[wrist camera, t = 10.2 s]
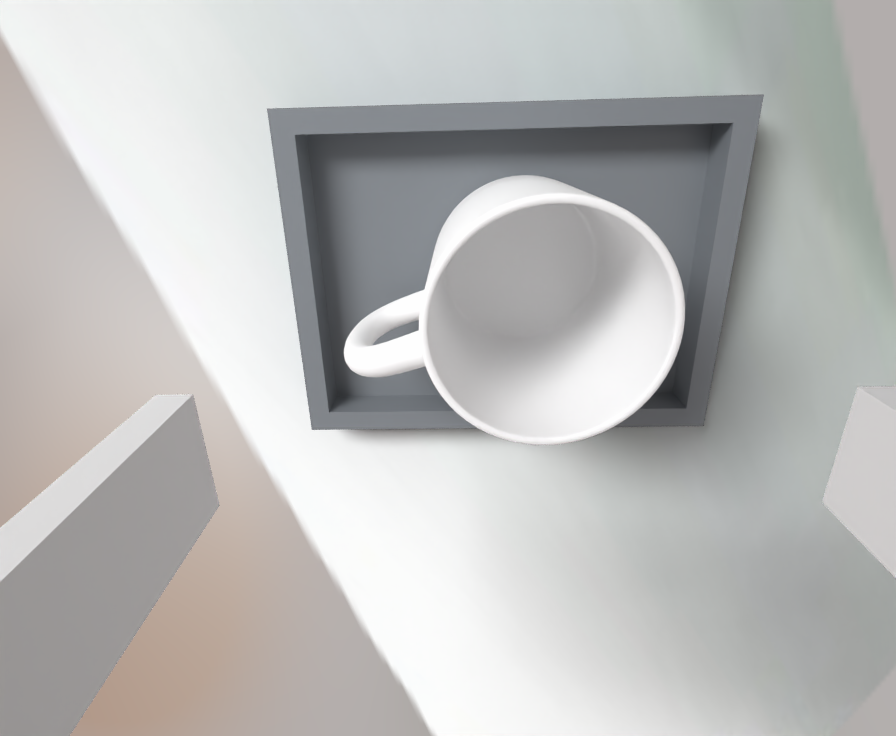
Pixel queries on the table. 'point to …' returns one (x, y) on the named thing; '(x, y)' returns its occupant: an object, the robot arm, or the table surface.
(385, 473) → the table surface
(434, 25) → the table surface
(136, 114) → the table surface
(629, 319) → the cup
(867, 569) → the table surface
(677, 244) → the grey tray
